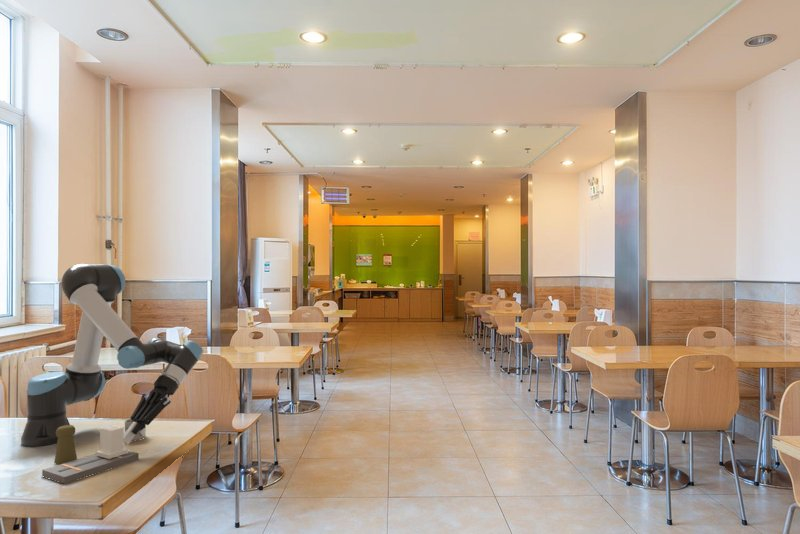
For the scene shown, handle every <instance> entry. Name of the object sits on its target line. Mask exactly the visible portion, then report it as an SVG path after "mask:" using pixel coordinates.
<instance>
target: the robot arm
mask: <svg viewBox="0 0 800 534" xmlns="http://www.w3.org/2000/svg"><path fill="white" fill-rule="evenodd" d="M125 286H126V278H125V274H124V273H123V271H122V269H121V268H119V267H118V266H116V265H113V264H109V263H108V264H106V263H103V264H102V263H77V264H74V265H73V266H70V267H68V269H66V271H65V272H64V273H63V275H62V277H61V288H62V292H63V294H64V296H66V298H67V299H68V301H70V303H71V304H73V305H77V306H78V307H79V308H80V309H81V311H82V312H81V315H80V321H79V327H78V331H77V336H76V341H75V346H74V351H73V356H72V361H71V362H70V363H69V364H67V365H66V367H65V370H64V371H65V372H64V371H51V372H48V373H47V372H45V373H41V374H38V375H36V376H33V377H31V378H30V379H29V380H28V382H27V388H26V398H27V399H26V400H27V402H26V405H27V407H26V408H27V409H26V410H27V413H26V416H27V418H26V419H27V420H26V423H25V426H24V428H23V432H22V434H21V438H20V445H22V446H25V447H38V446H39V447H40V446H45V445H47V446H48V445H52V444H57V441H58V437H57V436H56V430H57V429H58V428H59V427H61V426H65V425H71V424H70V421H69V419H68V417H67V406H70V405H73V404H78V403H82V402H87V401H90V400H91V399H95V398H97V397H98V396H100V394H101V393H102V392H103V391H104V388H105V385H106V378H105V374H104V373H103V371H102V367H101V366H100V365H99V359H100V354H101V348H102V344H103V340H104V339H103V338H104V337H105V338H106V339H107V341H108V342H109V343H110V344H111V346H112V347H113V348H114V349H115V350H116V351H117V355H116V360H117V361H118V362H117V363H118V365H119V366H120V367H121V368H123V369H138V368H140V367H144V366H149V365H154V364H159V363H164V364H167V365H166V367H165V368H164V369H163V370H162V372H161V374H160V375H158V377H157V379H155V381H154V383H153V387H154V388H153V389H151V390H150V392H149V393H148V394H146V393H142V396H141V398H140V401H139V403H138V404H137V406H136V407H135V409H134V410H133V413H132V415H131V416H130V418H129V419H132V421H133V422H132V423H131V425H130V426H129V427H128V429H127V431H126V432H125V431H124V445H129V444H130V443H131V442H132V441H131V440H132V439H133V438H134V436H135V435H136V434H137V433H138V431H139V430H140V429H141V427H142V426H144V425H146V426H149V425H150V424H151V423H152V422H153V421H154V419H155V418H157V416H159V414H160V413H161V412H162V411H163V410H164V409H165V408H166V407H167V406H168V405H170V404H171V402H172V401H171V400H170V399H169V397H170V396H173V395H174V394H175V393H176V392H177V390H178V389H179V386H180V385H181V384H182V383H183V381H185V379H186V377H187V376H188V375H189V373H190V371H191V370H192V369H193V368H194V366H195V365H196V364H197V362H199V361H200V360H199V359H200V358H201V357H202V355H203V353H204V349H203V347H202V346H201V345H200V344H199V343H197V342H195V341H194V340H190V339H189V340H185V342H184V343H183V344H178V343H175V342H172V341H170V340H169V341H168V340H167V339H163V338H160V337H159V338H157V337H154V338H151V340H149V341H148V342H147V343H143V342H142V341H141V340H140V338H139V337H138V336H137V335H136V334H135V332H133V330H131V328H130V327H129V325H127V324H126V323H125V322H124V320H123V319H122V318H121V316H119V315H118V313H117V312H116V311H115V310H114V309H113V308H112V307H111V305H112V304H113V303H115V301H116V297H117V295H119V294H121V293H122V292H123V291H124V290H125Z"/></svg>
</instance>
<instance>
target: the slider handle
mask: <svg viewBox="0 0 800 534" xmlns="http://www.w3.org/2000/svg"><path fill="white" fill-rule="evenodd" d="M124 433H125V426H124V427H123V426H119V425H114V424H112V425H107V426H104V427H101V428H99V450H96V451H95V454H96V456H100V457H103V458H107V459H111V458H114V457H117V456H120V455H123V454H127V453H128V451H129V450H128V448H125V446H124V445H125V443H124Z"/></svg>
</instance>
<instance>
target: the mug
mask: <svg viewBox="0 0 800 534" xmlns="http://www.w3.org/2000/svg"><path fill="white" fill-rule="evenodd" d="M132 422H133V421H132V419H130V418H128V419H126V420H125V421H124V433H125V432H126V431H127V429H128V427H129V426H130V425H131V423H132ZM146 426H147V425H144V426H142V427H141V429H140V430H139V431H138V433H137V434H136V435H135V436H134V438H133V439H132V440H131V442H136V441H135V440H138V441H141V440H140V439H142V440H144V439H145V437H146V435H147V434H146V431H147V429H146V428H147V427H146ZM143 438H144V439H143ZM146 438H147V437H146Z"/></svg>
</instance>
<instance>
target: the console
mask: <svg viewBox="0 0 800 534" xmlns="http://www.w3.org/2000/svg"><path fill="white" fill-rule="evenodd" d="M139 454H140V453H139V452H134V451H130V450H128V453H127V454H123V455H120V456H117V457H114V458H111V459H107V458H103V457H100V456H96V453H94V454H90V455H86V456H84V457H80V458H77V460H73V461H70V462H67V463H63V464H56V465H54V466H51V467H47V468H44V469H42V470H41V472H42V473H41V474H42V475H41V477H42V476H44V477H43V478H45V477H47V478H46V479H48V478H50V479H49V480H51V479H53V480H56V481H59V482H61V483H60V484H62V483H64V484H63V485H66V484H65V483H67V484H69V482H70V483H73V482H75V481H74V480H76V481H78V480H77V479H79V480H81V479H80V478H82V479H85V478H87V477H86V476H88V477H90V476H89V475H91V476H93V475H92V474H94V475H96V474H95V473H97V474H99V473H98V472H100V473H103V472H105V470H106V471H109V470H111V468H112V469H115V468H118V467H121V466H124V465H127V464H130V463H133V462H137V461H139V459H140V458H139ZM114 467H115V468H114ZM108 469H109V470H108ZM102 471H103V472H102ZM84 477H85V478H84ZM53 480H52V481H53ZM56 481H55V482H56ZM72 481H73V482H72ZM59 482H58V483H59Z"/></svg>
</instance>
